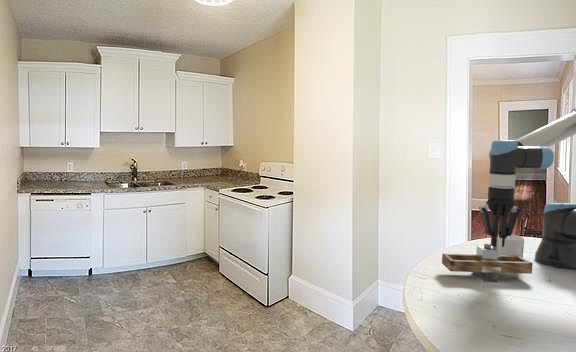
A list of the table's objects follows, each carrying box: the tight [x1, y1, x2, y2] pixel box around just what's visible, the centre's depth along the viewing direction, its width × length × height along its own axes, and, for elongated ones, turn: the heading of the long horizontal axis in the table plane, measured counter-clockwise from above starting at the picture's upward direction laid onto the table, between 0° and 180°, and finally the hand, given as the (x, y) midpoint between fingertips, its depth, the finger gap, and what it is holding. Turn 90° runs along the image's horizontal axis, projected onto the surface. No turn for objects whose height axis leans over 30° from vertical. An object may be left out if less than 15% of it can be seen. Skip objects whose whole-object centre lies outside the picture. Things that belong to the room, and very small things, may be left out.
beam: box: [441, 253, 534, 283], centre depth 126 cm, size 26×9×7 cm, turn 87°
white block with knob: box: [475, 243, 498, 261], centre depth 125 cm, size 5×4×6 cm
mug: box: [498, 234, 525, 258], centre depth 138 cm, size 12×9×11 cm
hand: (496, 255), depth 125 cm, fingers closed
